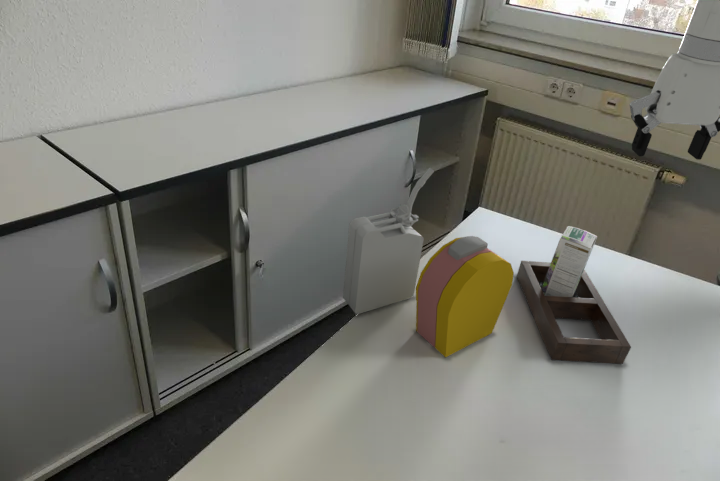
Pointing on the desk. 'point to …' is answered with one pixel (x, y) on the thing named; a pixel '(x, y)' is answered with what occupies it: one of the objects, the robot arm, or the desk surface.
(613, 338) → the open brown box
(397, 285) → the fuel canister
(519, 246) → the desk surface
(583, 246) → the syrup box
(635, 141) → the robot arm
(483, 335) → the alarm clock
